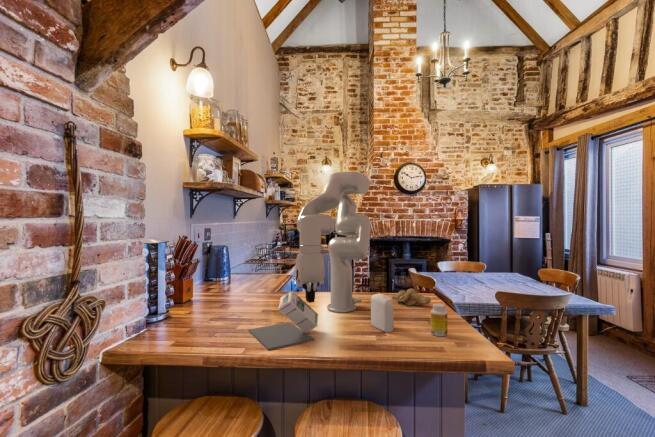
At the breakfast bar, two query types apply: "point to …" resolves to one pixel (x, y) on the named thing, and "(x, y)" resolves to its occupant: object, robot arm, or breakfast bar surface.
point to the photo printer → (382, 312)
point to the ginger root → (411, 298)
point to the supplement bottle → (439, 320)
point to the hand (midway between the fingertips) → (310, 301)
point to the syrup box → (298, 311)
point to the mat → (280, 335)
